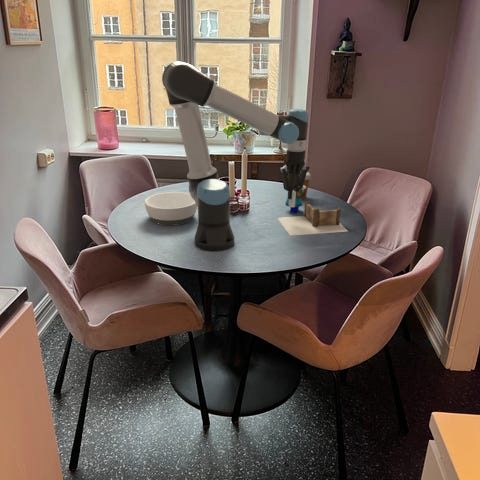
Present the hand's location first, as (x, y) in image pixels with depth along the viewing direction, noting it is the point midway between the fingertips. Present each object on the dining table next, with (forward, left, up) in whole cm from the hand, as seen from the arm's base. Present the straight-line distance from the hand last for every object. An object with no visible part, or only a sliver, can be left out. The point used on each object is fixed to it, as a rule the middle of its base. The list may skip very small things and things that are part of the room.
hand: (291, 206), depth 201 cm
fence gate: (+8, 0, -6) cm, 10 cm away
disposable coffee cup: (+13, +31, -7) cm, 34 cm away
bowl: (-49, +14, -7) cm, 51 cm away
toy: (+5, +12, -7) cm, 15 cm away
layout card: (+7, -5, -7) cm, 11 cm away
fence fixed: (+13, -7, -7) cm, 16 cm away
